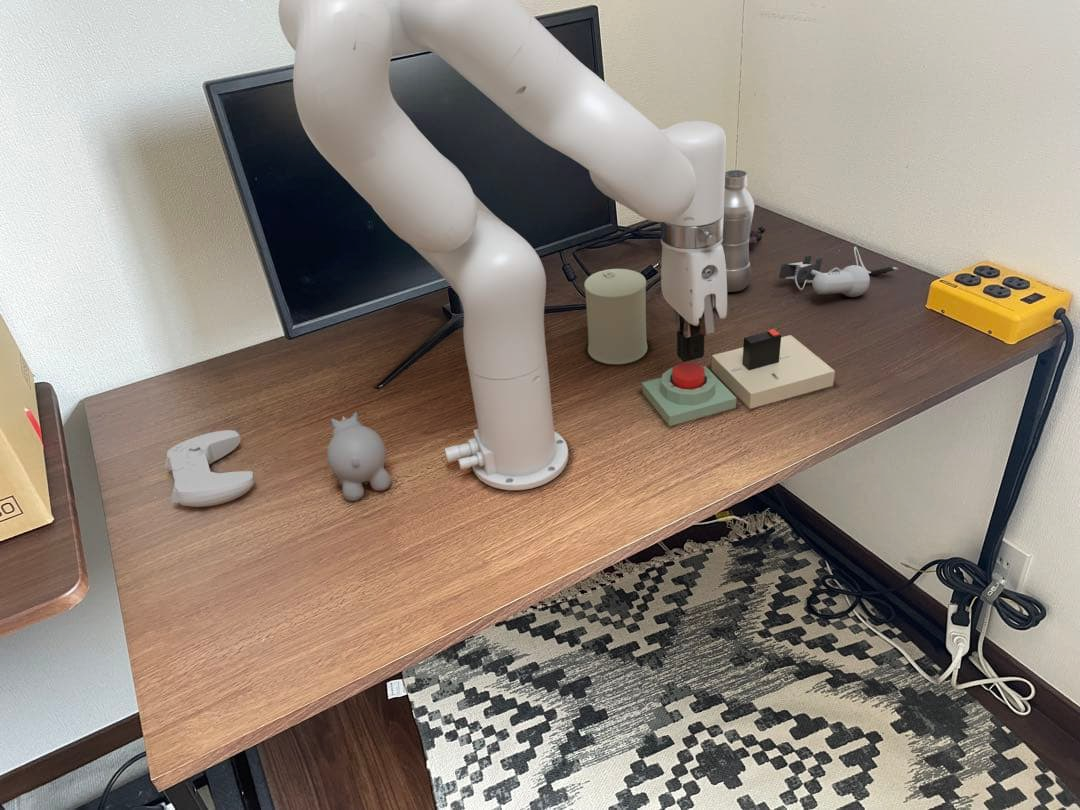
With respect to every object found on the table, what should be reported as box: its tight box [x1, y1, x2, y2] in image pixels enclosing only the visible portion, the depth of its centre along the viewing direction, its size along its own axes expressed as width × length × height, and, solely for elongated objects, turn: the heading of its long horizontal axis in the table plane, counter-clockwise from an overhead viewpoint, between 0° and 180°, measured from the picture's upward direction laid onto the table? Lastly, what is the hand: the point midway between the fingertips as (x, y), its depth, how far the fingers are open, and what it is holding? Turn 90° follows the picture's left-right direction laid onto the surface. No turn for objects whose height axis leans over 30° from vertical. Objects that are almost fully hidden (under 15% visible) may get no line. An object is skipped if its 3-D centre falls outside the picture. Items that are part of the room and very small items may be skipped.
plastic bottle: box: [721, 169, 755, 293], centre depth 133 cm, size 6×7×20 cm
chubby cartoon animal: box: [326, 411, 392, 502], centre depth 103 cm, size 7×12×8 cm, turn 21°
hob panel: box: [710, 334, 836, 410], centre depth 114 cm, size 13×11×3 cm
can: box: [583, 268, 648, 365], centre depth 122 cm, size 9×9×12 cm
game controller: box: [164, 429, 255, 508], centre depth 106 cm, size 14×4×10 cm
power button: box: [672, 361, 705, 389], centre depth 110 cm, size 4×4×2 cm
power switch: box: [641, 365, 738, 427], centre depth 112 cm, size 10×9×4 cm
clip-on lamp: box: [778, 246, 899, 298], centre depth 134 cm, size 12×6×18 cm
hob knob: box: [742, 328, 782, 370], centre depth 113 cm, size 5×2×5 cm, turn 109°
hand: (690, 356), depth 109 cm, fingers closed
